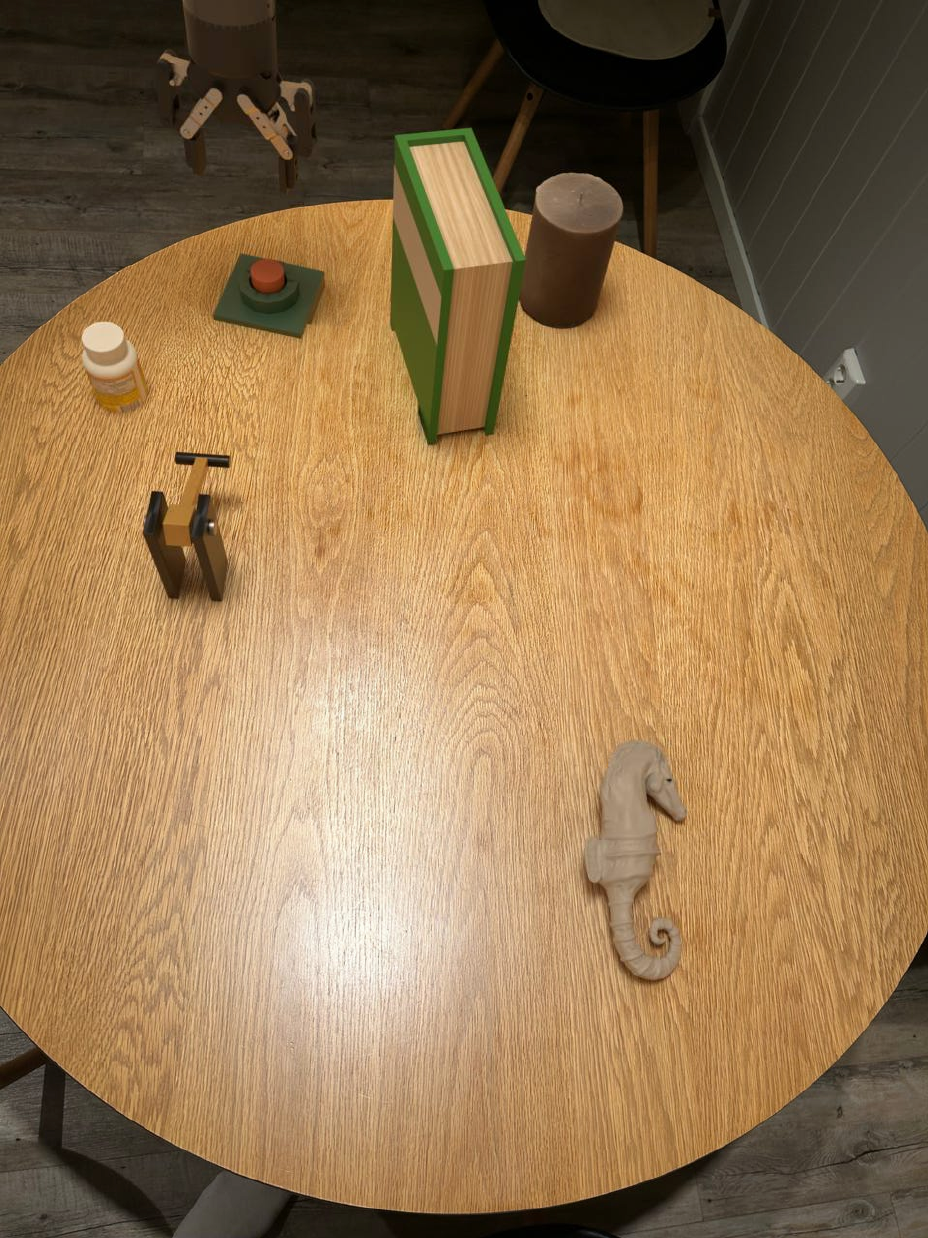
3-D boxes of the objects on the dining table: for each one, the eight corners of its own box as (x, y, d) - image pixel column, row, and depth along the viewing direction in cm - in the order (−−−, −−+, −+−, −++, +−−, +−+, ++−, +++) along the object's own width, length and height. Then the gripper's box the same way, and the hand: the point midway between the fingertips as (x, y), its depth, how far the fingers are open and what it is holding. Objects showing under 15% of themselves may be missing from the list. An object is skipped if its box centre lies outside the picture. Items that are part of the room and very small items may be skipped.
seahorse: (739, 964, 78) (684, 730, 84) (629, 990, 73) (578, 738, 79) (699, 966, 82) (649, 743, 88) (592, 990, 77) (546, 751, 83)
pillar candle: (589, 336, 110) (619, 232, 97) (509, 316, 111) (528, 210, 97) (603, 279, 115) (633, 172, 102) (525, 260, 115) (546, 151, 102)
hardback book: (493, 434, 102) (526, 259, 81) (428, 444, 101) (443, 270, 80) (451, 315, 110) (471, 127, 89) (390, 324, 108) (394, 135, 87)
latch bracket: (167, 540, 93) (139, 462, 82) (249, 545, 93) (232, 469, 82) (149, 630, 88) (117, 561, 77) (235, 635, 89) (216, 567, 78)
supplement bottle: (136, 427, 99) (114, 364, 90) (89, 412, 99) (63, 347, 90) (159, 390, 101) (140, 325, 93) (113, 375, 101) (90, 309, 93)
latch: (178, 464, 89) (175, 443, 88) (231, 468, 90) (229, 447, 88) (149, 544, 81) (145, 522, 79) (208, 548, 81) (205, 526, 79)
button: (248, 290, 104) (246, 278, 102) (257, 267, 106) (255, 255, 104) (279, 297, 104) (278, 285, 102) (288, 274, 106) (287, 262, 104)
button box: (215, 328, 106) (210, 302, 102) (242, 267, 110) (238, 240, 107) (301, 347, 106) (299, 321, 102) (325, 285, 110) (323, 258, 107)
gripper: (128, 1, 76) (158, 186, 89) (301, 38, 76) (305, 217, 89) (159, -39, 80) (184, 144, 93) (323, -4, 80) (324, 173, 94)
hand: (243, 179), depth 91 cm, fingers open, 8 cm apart
